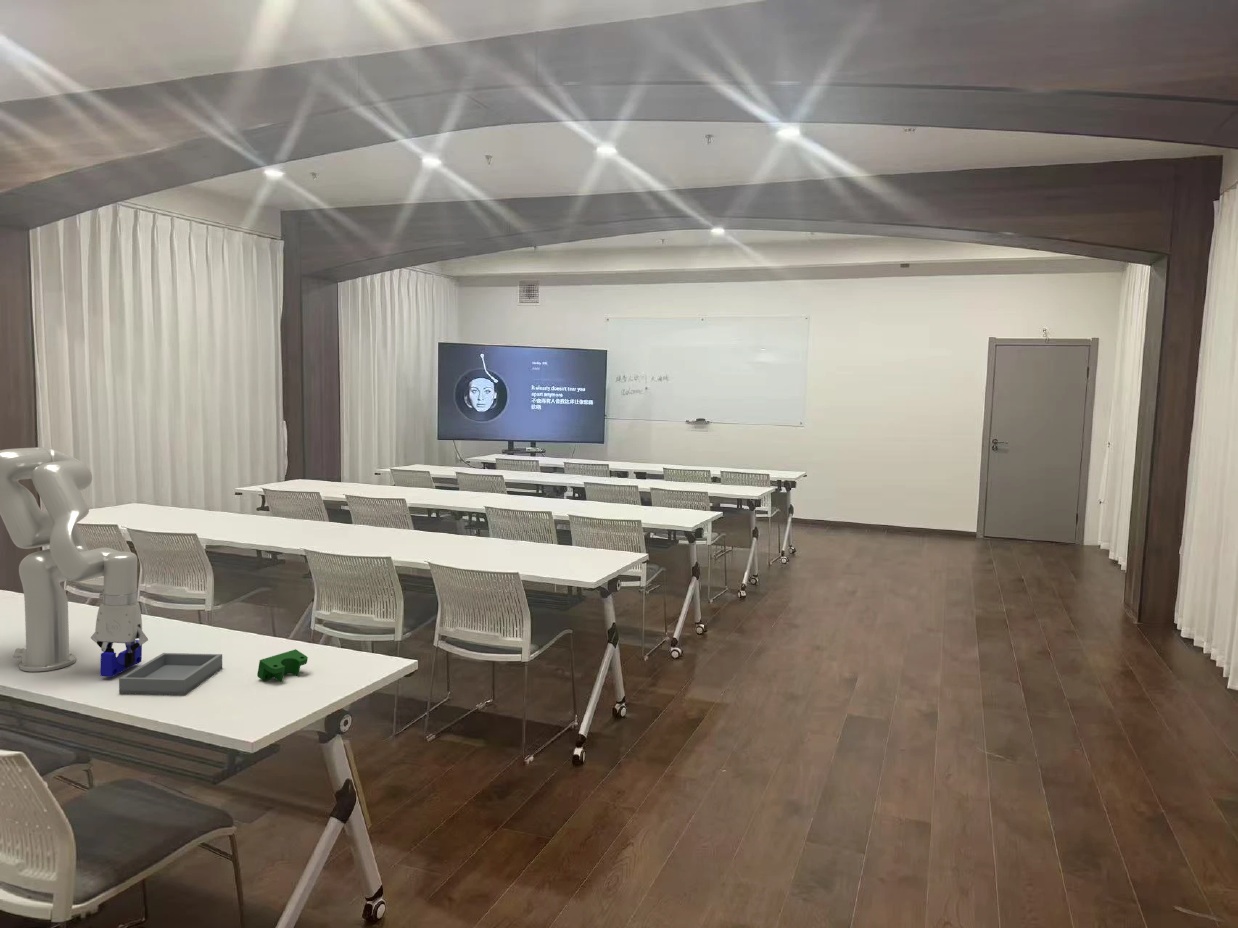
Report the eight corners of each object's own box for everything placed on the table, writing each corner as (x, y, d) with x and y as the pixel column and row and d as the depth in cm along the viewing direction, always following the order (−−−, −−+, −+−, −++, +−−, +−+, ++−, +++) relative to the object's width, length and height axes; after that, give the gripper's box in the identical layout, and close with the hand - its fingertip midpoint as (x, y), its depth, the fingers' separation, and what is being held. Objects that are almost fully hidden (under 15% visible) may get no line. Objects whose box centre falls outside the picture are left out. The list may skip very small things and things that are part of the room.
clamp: (275, 698, 209) (268, 673, 204) (261, 688, 212) (253, 663, 207) (313, 670, 217) (307, 646, 213) (299, 661, 220) (292, 637, 215)
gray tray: (119, 694, 197) (118, 678, 197) (163, 667, 217) (163, 652, 216) (184, 695, 197) (184, 679, 197) (222, 668, 217) (222, 654, 217)
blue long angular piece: (125, 660, 218) (126, 639, 217) (141, 661, 218) (141, 640, 217) (94, 675, 206) (95, 653, 205) (111, 676, 206) (111, 654, 205)
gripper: (78, 600, 206) (77, 668, 208) (144, 604, 207) (143, 672, 208) (96, 593, 214) (95, 658, 215) (160, 597, 214) (158, 662, 216)
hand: (119, 664), depth 212 cm, fingers closed on blue long angular piece, 4 cm apart
